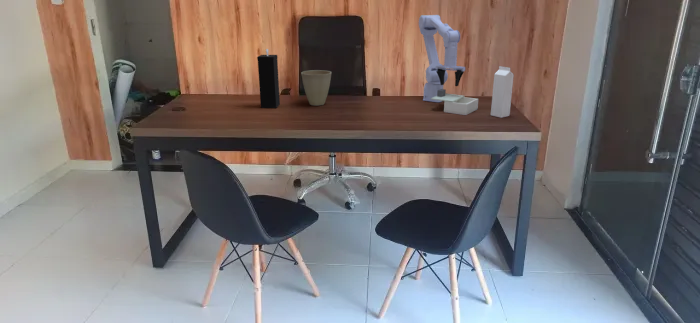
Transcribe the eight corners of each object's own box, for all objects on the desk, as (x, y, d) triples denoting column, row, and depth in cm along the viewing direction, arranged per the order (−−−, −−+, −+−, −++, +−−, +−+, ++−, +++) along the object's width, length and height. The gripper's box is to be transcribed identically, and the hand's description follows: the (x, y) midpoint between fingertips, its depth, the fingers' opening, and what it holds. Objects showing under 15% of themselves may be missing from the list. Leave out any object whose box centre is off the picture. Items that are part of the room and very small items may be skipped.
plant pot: (331, 107, 241) (330, 74, 236) (300, 107, 241) (299, 74, 236) (332, 100, 255) (332, 69, 250) (304, 100, 255) (302, 69, 250)
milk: (501, 118, 220) (506, 68, 213) (490, 115, 225) (494, 66, 217) (509, 115, 224) (514, 67, 216) (498, 113, 228) (503, 65, 220)
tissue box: (280, 104, 247) (277, 47, 238) (276, 108, 240) (273, 49, 230) (264, 104, 248) (261, 47, 238) (260, 108, 240) (256, 49, 231)
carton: (443, 111, 231) (444, 101, 229) (456, 106, 242) (456, 96, 240) (466, 115, 225) (466, 104, 223) (477, 109, 236) (478, 98, 234)
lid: (430, 99, 233) (431, 91, 232) (443, 94, 244) (444, 87, 243) (452, 102, 227) (453, 94, 226) (464, 96, 238) (465, 89, 237)
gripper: (433, 56, 235) (432, 85, 239) (461, 58, 226) (460, 87, 230) (439, 55, 240) (438, 83, 244) (467, 56, 232) (466, 85, 236)
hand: (449, 85), depth 238 cm, fingers open, 7 cm apart
